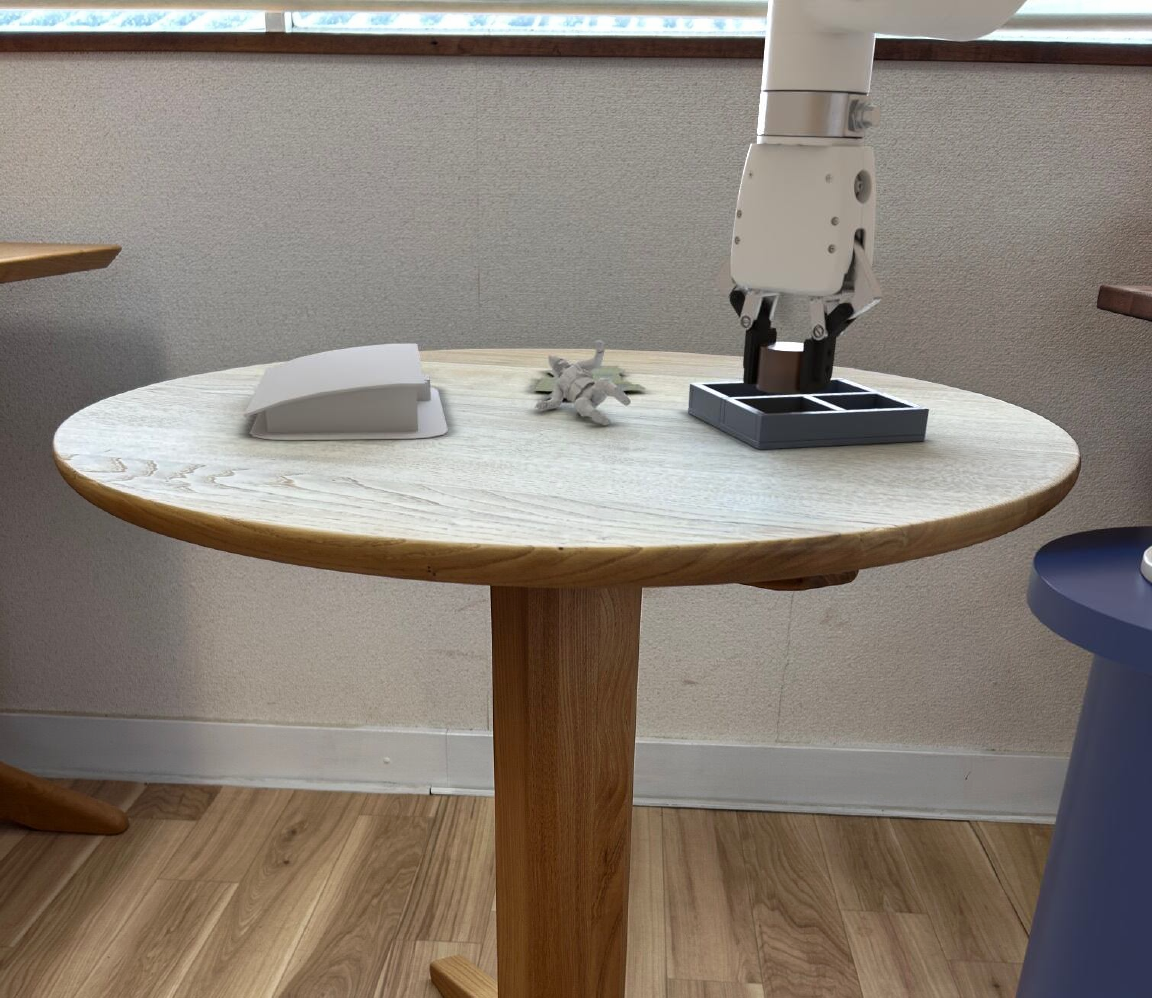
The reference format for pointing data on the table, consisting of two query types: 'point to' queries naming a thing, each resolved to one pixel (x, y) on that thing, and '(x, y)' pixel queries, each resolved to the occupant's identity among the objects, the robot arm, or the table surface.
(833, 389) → the grid
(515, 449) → the table surface
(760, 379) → the cylinder
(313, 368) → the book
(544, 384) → the map
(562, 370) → the soldier figure
